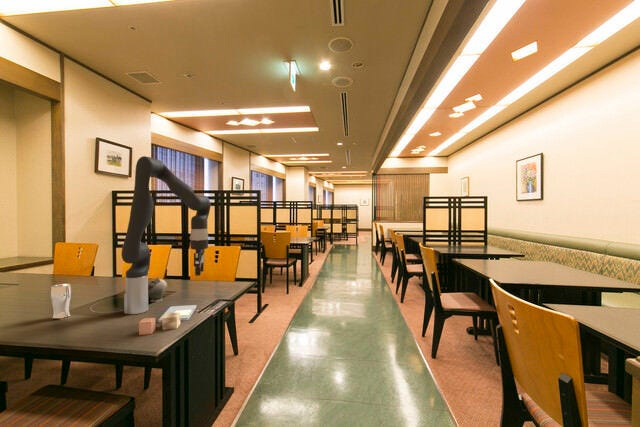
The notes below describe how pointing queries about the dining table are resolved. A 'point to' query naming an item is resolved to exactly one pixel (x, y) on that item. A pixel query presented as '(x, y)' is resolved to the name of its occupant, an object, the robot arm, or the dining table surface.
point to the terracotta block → (146, 326)
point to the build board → (183, 310)
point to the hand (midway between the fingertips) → (199, 273)
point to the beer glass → (61, 300)
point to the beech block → (171, 321)
